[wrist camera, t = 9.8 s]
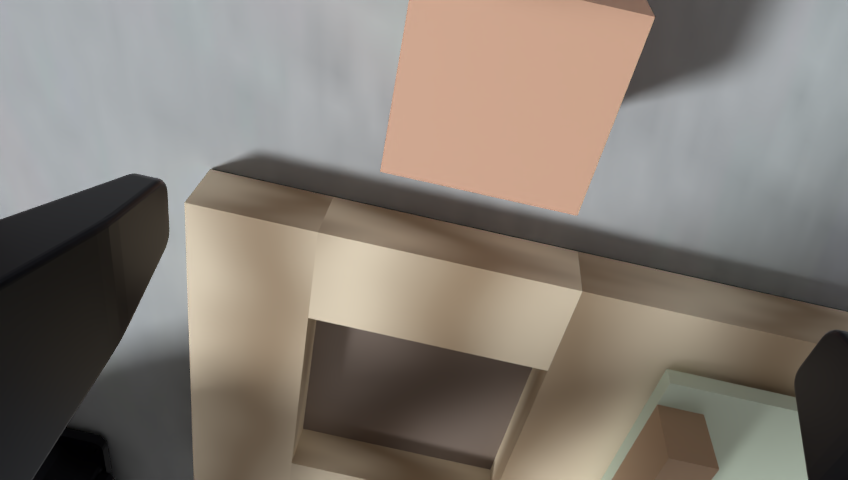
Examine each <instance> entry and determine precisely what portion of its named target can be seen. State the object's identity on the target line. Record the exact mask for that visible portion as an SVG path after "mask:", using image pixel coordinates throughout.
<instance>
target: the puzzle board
mask: <svg viewBox="0 0 848 480" xmlns="http://www.w3.org/2000/svg"><path fill="white" fill-rule="evenodd" d="M185 231H186V261H187V291H188V322H189V352H190V382H191V412H192V442H193V472H194V480H601V479H602V477H603V476H604V474H605V472H606V471H607V469H608V467H609V465H610V464H611V462H612V460H613V459H614V457H615V455H616V454H617V452H618V450H619V449H620V447H621V445H622V443H623V442H624V440H625V438H626V437H627V435H628V433H629V432H630V430H631V428H632V427H633V425H634V423H635V421H636V420H637V418H638V416H639V415H640V413H641V411H642V410H643V408H644V406H645V404H646V403H647V401H648V399H649V398H650V396H651V394H652V393H653V391H654V389H655V388H656V386H657V384H658V382H659V381H660V379H661V377H662V376H663V374H664V372H665V371H666V369H670V370H675V371H679V372H684V373H688V374H693V375H697V376H702V377H706V378H711V379H715V380H720V381H724V382H729V383H733V384H738V385H742V386H747V387H751V388H756V389H760V390H765V391H770V392H774V393H779V394H783V395H788V396H792V397H795V390H794V380H795V375H796V373H797V371H798V369H799V367H800V366H801V365H802V363H803V362H804V361H805V359H806V358H807V357H808V355H809V354H810V353H811V351H812V350H813V349H814V347H815V346H816V345H817V343H818V342H819V341H820V339H821V338H822V337H823V336H824V335H825V334H826V333H827V332H829V331H831V330H836V329H837V330H842V331H847V332H848V312H846V311H841V310H837V309H832V308H828V307H824V306H819V305H815V304H810V303H806V302H801V301H797V300H792V299H788V298H783V297H779V296H774V295H770V294H765V293H761V292H757V291H752V290H748V289H743V288H739V287H734V286H730V285H725V284H721V283H716V282H712V281H707V280H703V279H698V278H694V277H690V276H685V275H681V274H676V273H672V272H667V271H663V270H658V269H654V268H649V267H645V266H640V265H636V264H631V263H627V262H623V261H618V260H614V259H609V258H605V257H600V256H596V255H591V254H587V253H582V252H578V251H573V250H569V249H564V248H560V247H556V246H551V245H547V244H542V243H538V242H533V241H529V240H524V239H520V238H515V237H511V236H506V235H502V234H497V233H493V232H489V231H484V230H480V229H475V228H471V227H466V226H462V225H457V224H453V223H448V222H444V221H439V220H435V219H430V218H426V217H422V216H417V215H413V214H408V213H404V212H399V211H395V210H390V209H386V208H381V207H377V206H372V205H368V204H363V203H359V202H355V201H350V200H346V199H341V198H337V197H332V196H328V195H323V194H319V193H314V192H310V191H305V190H301V189H296V188H292V187H288V186H283V185H279V184H274V183H270V182H265V181H261V180H256V179H252V178H247V177H243V176H238V175H234V174H229V173H225V172H221V171H216V170H212V169H210V170H209V171H208V173H207V174H206V175H205V177H204V178H203V179H202V181H201V182H200V183H199V184H198V186H197V187H196V188H195V190H194V191H193V192H192V194H191V195H190V196H189V197H188V199H187V200H186V201H185Z"/></svg>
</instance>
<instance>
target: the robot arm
mask: <svg viewBox="0 0 848 480" xmlns="http://www.w3.org/2000/svg"><path fill="white" fill-rule="evenodd" d="M168 238H169V214H168V194H167V187H166V184H165V183H164V182H163V181H162V180H161V179H158V178H153V177H149V176H144V175H140V174H129V175H126V176H123V177H120V178H118V179H115V180H112V181H109V182H106V183H103V184H100V185H98V186H95V187H92V188H89V189H86V190H83V191H80V192H78V193H75V194H72V195H69V196H66V197H63V198H61V199H58V200H55V201H52V202H49V203H46V204H43V205H41V206H38V207H35V208H32V209H29V210H26V211H23V212H21V213H18V214H15V215H12V216H9V217H6V218H3V219H1V220H0V480H115V479H114V476H113V474H112V470H111V463H110V457H109V450H108V444H107V442H106V440H105V439H104V438H102V437H100V436H98V435H95V434H90V433H86V432H81V431H77V430H72V429H67V428H66V426H67V424H68V423H69V421H70V420H71V418H72V417H73V415H74V413H75V412H76V410H77V409H78V407H79V406H80V404H81V402H82V401H83V399H84V398H85V396H86V395H87V393H88V392H89V390H90V388H91V387H92V385H93V384H94V382H95V381H96V379H97V377H98V376H99V374H100V373H101V371H102V370H103V368H104V366H105V365H106V363H107V362H108V360H109V359H110V357H111V355H112V354H113V352H114V351H115V349H116V347H117V346H118V344H119V342H120V341H121V339H122V337H123V335H124V333H125V331H126V329H127V327H128V325H129V323H130V321H131V319H132V317H133V315H134V313H135V311H136V309H137V307H138V304H139V302H140V300H141V298H142V296H143V294H144V292H145V290H146V288H147V286H148V284H149V281H150V279H151V277H152V275H153V273H154V271H155V269H156V267H157V265H158V263H159V261H160V258H161V256H162V254H163V252H164V250H165V248H166V245H167V242H168ZM794 390H795V397H796V403H797V410H798V417H799V423H800V430H801V437H802V443H803V450H804V457H805V463H806V470H807V476H808V480H848V332H847V331H842V330H837V329H836V330H831V331H829V332H827V333H826V334H825V335H824V336H823V337H822V338H821V339H820V341H819V342H818V343H817V345H816V346H815V347H814V349H813V350H812V351H811V353H810V354H809V355H808V357H807V358H806V359H805V361H804V362H803V363H802V365H801V366H800V367H799V369H798V371H797V373H796V375H795V380H794Z"/></svg>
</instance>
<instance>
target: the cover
mask: <svg viewBox="0 0 848 480" xmlns="http://www.w3.org/2000/svg"><path fill="white" fill-rule="evenodd" d="M601 480H808V476H807V470H806V463H805V457H804V450H803V443H802V437H801V430H800V423H799V417H798V410H797V403H796V397H792V396H788V395H783V394H779V393H774V392H770V391H765V390H760V389H756V388H751V387H747V386H742V385H738V384H733V383H729V382H724V381H720V380H715V379H711V378H706V377H702V376H697V375H693V374H688V373H684V372H679V371H675V370H670V369H666V371H665V372H664V374H663V376H662V377H661V379H660V381H659V382H658V384H657V386H656V388H655V389H654V391H653V393H652V394H651V396H650V398H649V399H648V401H647V403H646V404H645V406H644V408H643V410H642V411H641V413H640V415H639V416H638V418H637V420H636V421H635V423H634V425H633V427H632V428H631V430H630V432H629V433H628V435H627V437H626V438H625V440H624V442H623V443H622V445H621V447H620V449H619V450H618V452H617V454H616V455H615V457H614V459H613V460H612V462H611V464H610V465H609V467H608V469H607V471H606V472H605V474H604V476H603V477H602V479H601Z"/></svg>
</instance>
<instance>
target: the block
mask: <svg viewBox="0 0 848 480" xmlns="http://www.w3.org/2000/svg"><path fill="white" fill-rule="evenodd" d="M654 19H655V16H654V14H653V12H652V10H651V8H650V6H649V4H648V2H647V0H409V4H408V10H407V16H406V21H405V27H404V33H403V39H402V45H401V51H400V57H399V63H398V69H397V75H396V81H395V87H394V93H393V99H392V104H391V110H390V116H389V122H388V128H387V134H386V140H385V146H384V152H383V158H382V164H381V170H380V172H384V173H388V174H393V175H397V176H402V177H406V178H411V179H415V180H420V181H424V182H429V183H433V184H438V185H442V186H447V187H451V188H456V189H460V190H465V191H469V192H473V193H478V194H482V195H487V196H491V197H496V198H500V199H505V200H509V201H514V202H518V203H523V204H527V205H532V206H536V207H541V208H545V209H550V210H554V211H559V212H563V213H568V214H572V215H578V213H579V210H580V208H581V205H582V203H583V200H584V197H585V195H586V192H587V190H588V187H589V185H590V182H591V180H592V177H593V175H594V172H595V169H596V167H597V164H598V162H599V159H600V157H601V154H602V152H603V149H604V146H605V144H606V141H607V139H608V136H609V134H610V131H611V129H612V126H613V124H614V121H615V118H616V116H617V113H618V111H619V108H620V106H621V103H622V101H623V98H624V95H625V93H626V90H627V88H628V85H629V83H630V80H631V78H632V75H633V73H634V70H635V67H636V65H637V62H638V60H639V57H640V55H641V52H642V50H643V47H644V44H645V42H646V39H647V37H648V34H649V32H650V29H651V27H652V24H653V21H654Z"/></svg>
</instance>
